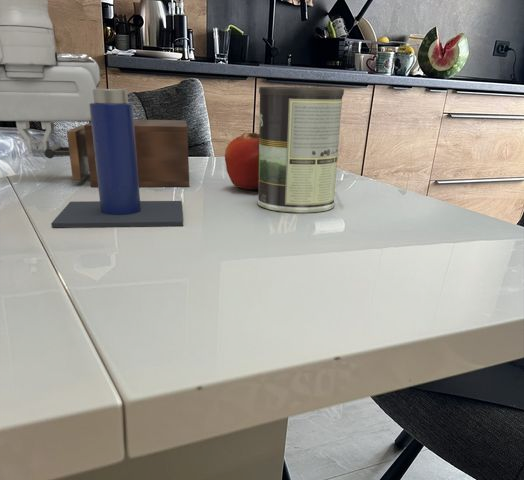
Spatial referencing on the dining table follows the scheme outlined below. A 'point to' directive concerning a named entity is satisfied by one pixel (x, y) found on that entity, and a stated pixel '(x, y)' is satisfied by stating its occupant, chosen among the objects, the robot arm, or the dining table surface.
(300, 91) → the coffee can
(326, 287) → the dining table surface
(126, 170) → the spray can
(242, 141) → the tomato
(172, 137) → the cabinet
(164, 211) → the mat
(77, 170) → the drawer
